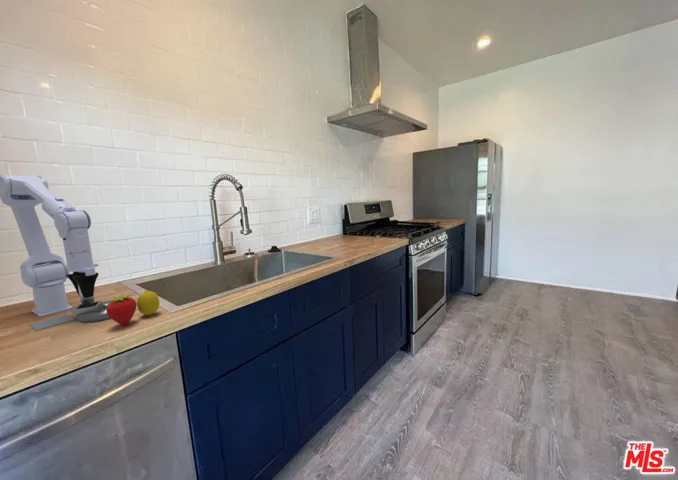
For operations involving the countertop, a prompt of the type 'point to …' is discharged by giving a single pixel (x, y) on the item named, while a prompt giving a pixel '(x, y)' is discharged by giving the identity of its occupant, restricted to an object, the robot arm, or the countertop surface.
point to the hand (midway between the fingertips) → (86, 296)
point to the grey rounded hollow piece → (91, 312)
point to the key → (85, 300)
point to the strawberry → (121, 309)
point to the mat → (51, 322)
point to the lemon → (148, 303)
